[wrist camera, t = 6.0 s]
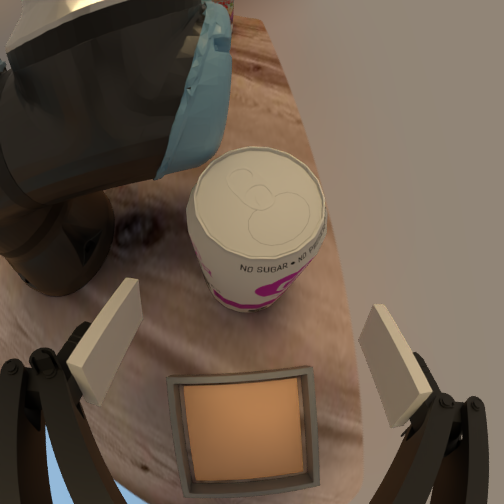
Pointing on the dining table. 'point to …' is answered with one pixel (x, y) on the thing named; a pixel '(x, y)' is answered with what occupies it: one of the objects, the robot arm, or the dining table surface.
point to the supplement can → (255, 225)
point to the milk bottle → (228, 3)
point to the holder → (245, 432)
